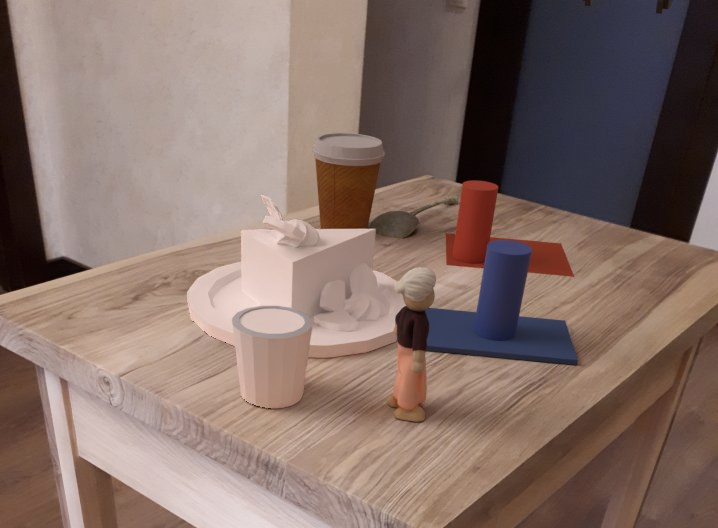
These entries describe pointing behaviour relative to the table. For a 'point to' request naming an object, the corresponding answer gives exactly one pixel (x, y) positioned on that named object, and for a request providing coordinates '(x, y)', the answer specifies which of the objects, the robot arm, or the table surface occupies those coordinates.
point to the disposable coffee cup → (346, 178)
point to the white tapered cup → (272, 354)
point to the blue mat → (529, 342)
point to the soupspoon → (403, 220)
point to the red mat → (542, 259)
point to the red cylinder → (474, 221)
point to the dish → (303, 285)
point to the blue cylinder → (502, 289)
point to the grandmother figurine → (412, 343)
